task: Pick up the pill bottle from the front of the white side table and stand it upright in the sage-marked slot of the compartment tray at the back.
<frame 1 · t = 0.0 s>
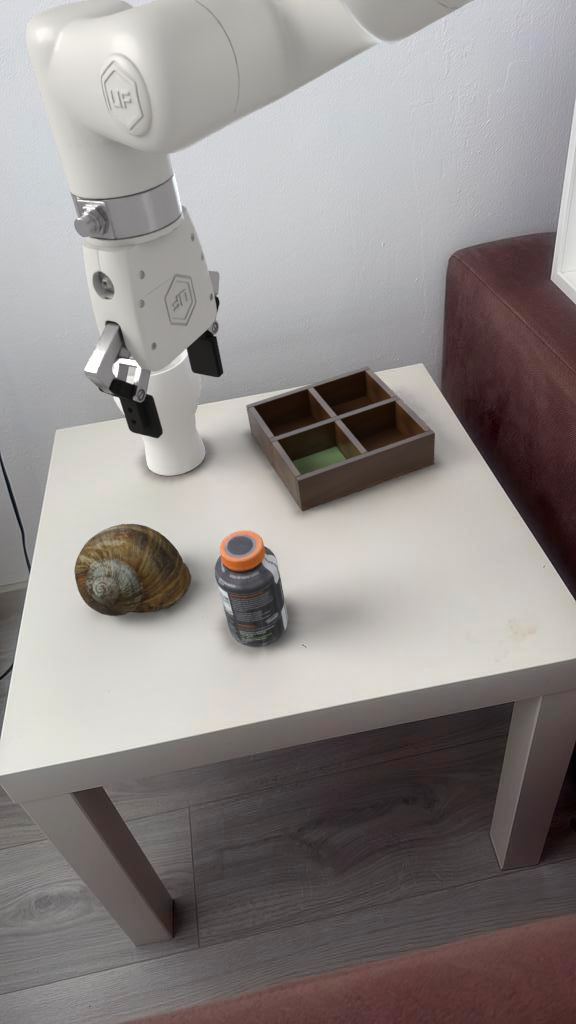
hand: (178, 402, 65), 22 cm above the table, tool pointing down, fingers open, 9 cm apart
seashell: (139, 594, 79), on the table
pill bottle: (259, 625, 73), on the table
cup: (176, 458, 96), on the table
compartment tray: (338, 448, 93), on the table
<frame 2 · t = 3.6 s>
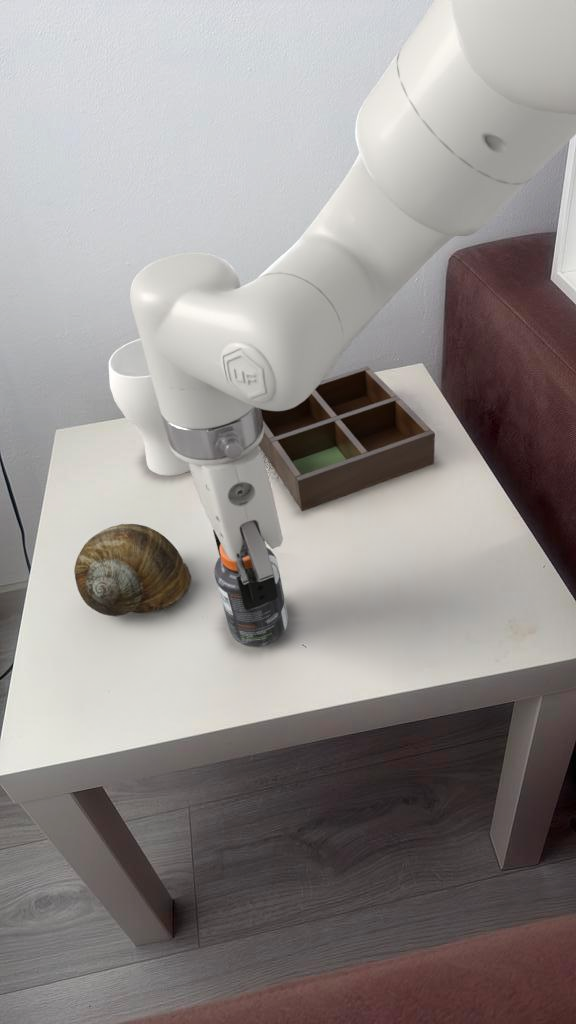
hand: (248, 577, 69), 7 cm above the table, tool pointing down, fingers closed on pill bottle, 6 cm apart
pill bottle: (259, 625, 73), on the table, touching gripper
everything else where it was.
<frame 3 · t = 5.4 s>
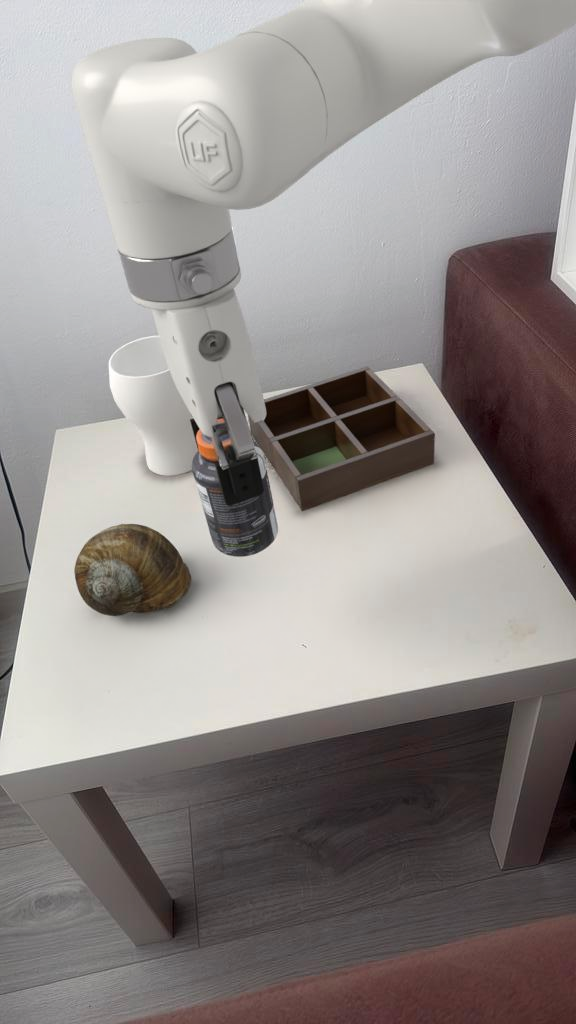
hand: (230, 473, 60), 20 cm above the table, tool pointing down, fingers closed on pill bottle, 6 cm apart
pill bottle: (245, 536, 65), point 12 cm above the table, touching gripper
everything else where it was.
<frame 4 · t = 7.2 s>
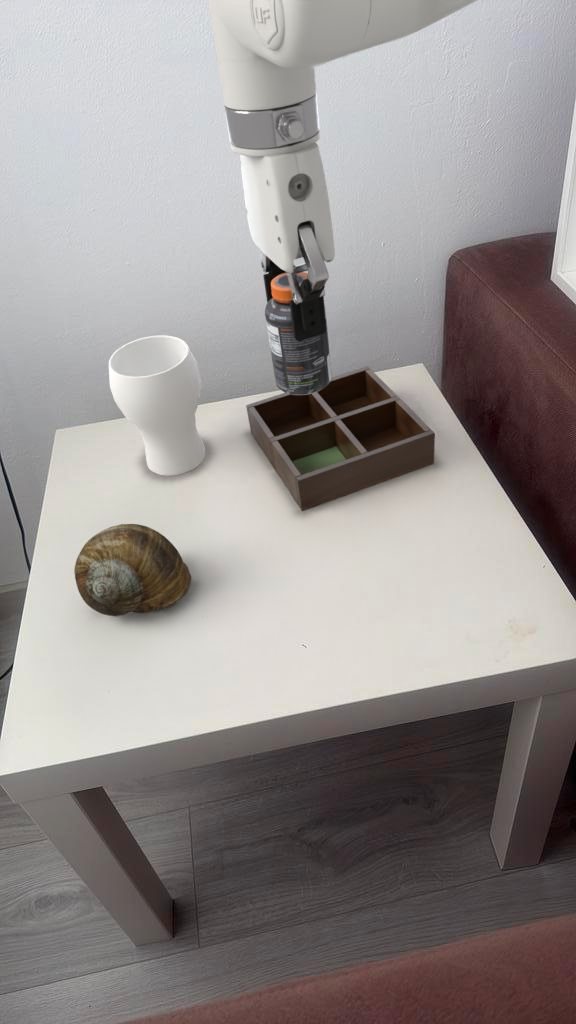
hand: (296, 320, 72), 22 cm above the table, tool pointing down, fingers closed on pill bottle, 6 cm apart
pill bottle: (303, 382, 77), point 15 cm above the table, touching gripper
everything else where it was.
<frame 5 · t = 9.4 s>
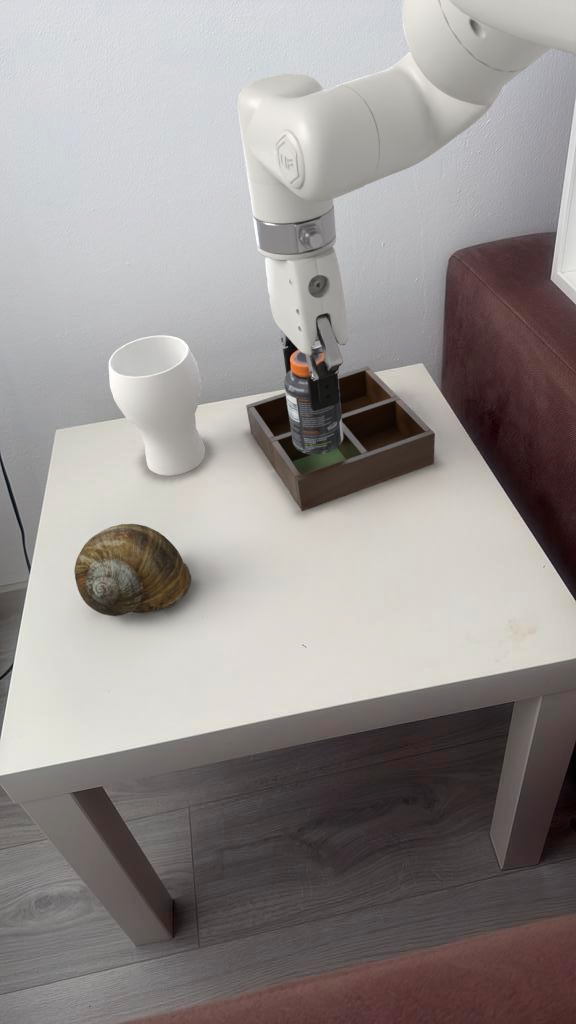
hand: (312, 389, 81), 13 cm above the table, tool pointing down, fingers closed on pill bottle, 6 cm apart
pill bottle: (318, 442, 86), point 5 cm above the table, touching gripper
everything else where it was.
when the fingers open (8 cm above the table, at t = 11.1 s): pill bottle stays where it is, resting on compartment tray.
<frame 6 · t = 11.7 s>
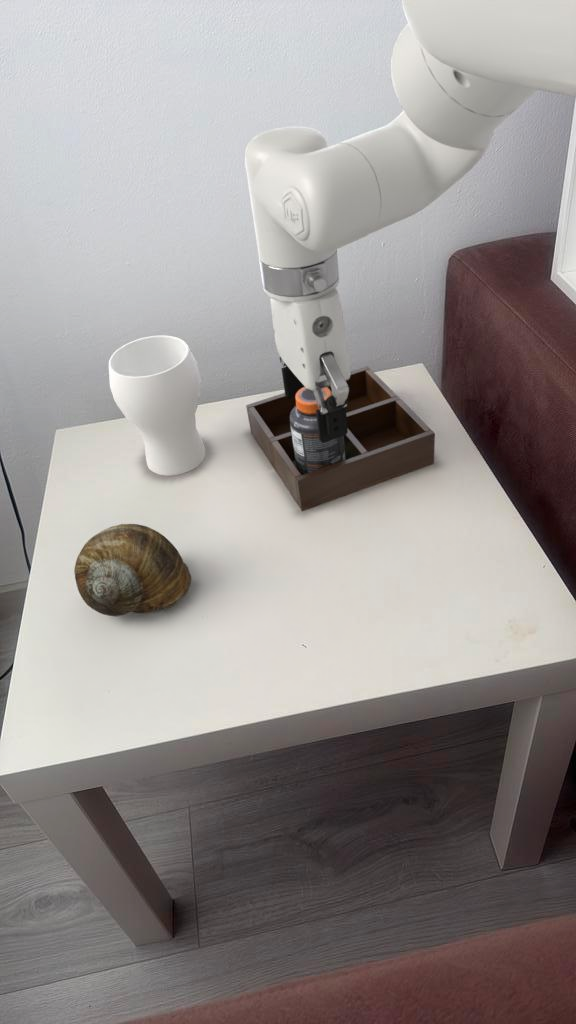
hand: (315, 415, 83), 9 cm above the table, tool pointing down, fingers open, 9 cm apart
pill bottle: (322, 473, 89), point 1 cm above the table, touching compartment tray
everything else where it was.
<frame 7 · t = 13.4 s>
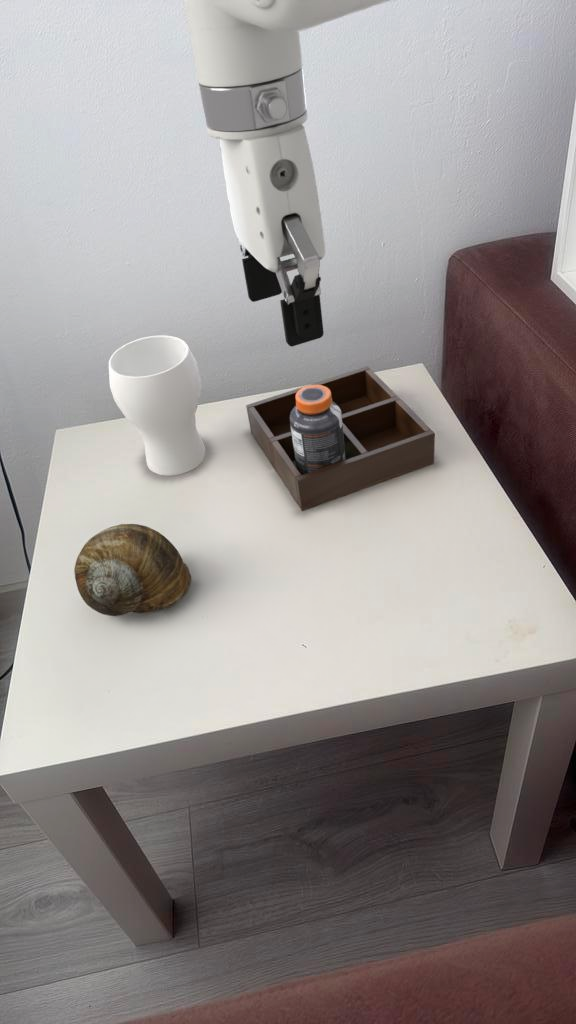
hand: (284, 317, 65), 26 cm above the table, tool pointing down, fingers open, 9 cm apart
nothing on the table moved.
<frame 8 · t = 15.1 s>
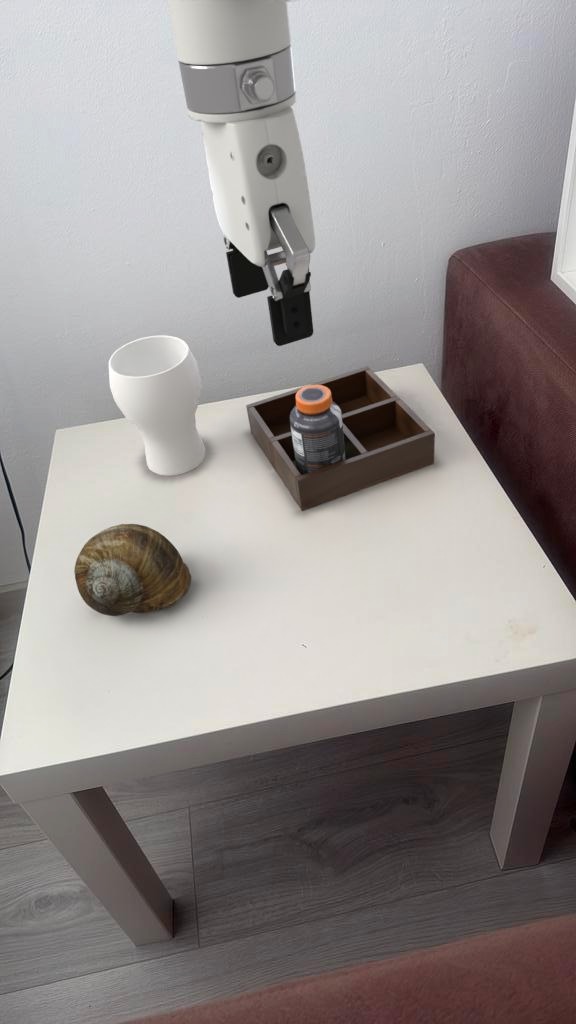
hand: (271, 314, 61), 28 cm above the table, tool pointing down, fingers open, 9 cm apart
nothing on the table moved.
at the end: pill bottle 0.2 cm from the target spot in the compartment tray, point 0.6 cm above the compartment tray's base; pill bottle tilted 0° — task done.
